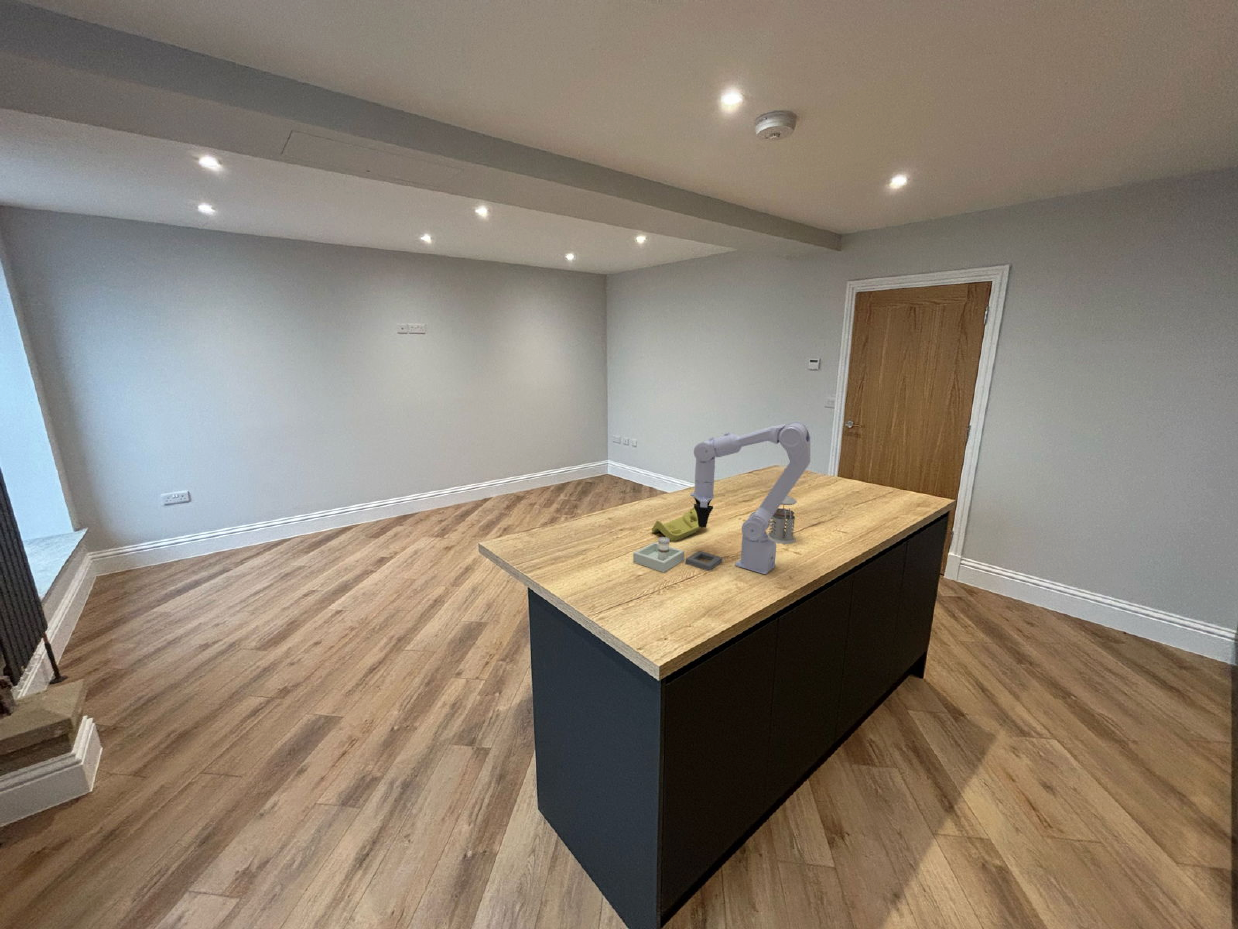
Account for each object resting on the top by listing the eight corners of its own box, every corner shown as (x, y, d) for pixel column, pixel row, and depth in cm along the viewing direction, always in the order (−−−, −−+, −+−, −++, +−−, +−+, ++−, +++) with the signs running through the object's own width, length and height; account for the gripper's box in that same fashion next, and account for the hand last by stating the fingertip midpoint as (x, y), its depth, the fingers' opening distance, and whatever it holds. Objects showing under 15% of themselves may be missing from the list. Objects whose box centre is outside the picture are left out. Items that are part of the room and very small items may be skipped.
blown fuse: (671, 559, 139) (671, 539, 138) (664, 562, 137) (665, 542, 135) (661, 556, 141) (662, 536, 140) (655, 559, 139) (656, 539, 137)
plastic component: (674, 537, 152) (655, 517, 158) (667, 552, 156) (649, 532, 162) (713, 520, 164) (694, 503, 170) (706, 535, 168) (687, 517, 174)
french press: (791, 533, 163) (798, 465, 157) (800, 546, 151) (808, 473, 146) (763, 532, 163) (769, 464, 158) (770, 545, 152) (776, 472, 147)
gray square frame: (722, 562, 139) (722, 557, 139) (709, 571, 133) (709, 566, 133) (698, 555, 144) (699, 550, 144) (685, 563, 138) (685, 558, 137)
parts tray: (683, 560, 140) (684, 551, 139) (663, 572, 132) (663, 563, 131) (654, 550, 147) (654, 541, 146) (633, 561, 138) (633, 552, 138)
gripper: (691, 473, 147) (689, 514, 150) (690, 485, 133) (688, 530, 136) (713, 475, 146) (711, 515, 149) (715, 487, 132) (713, 531, 135)
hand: (702, 522), depth 142 cm, fingers open, 7 cm apart
